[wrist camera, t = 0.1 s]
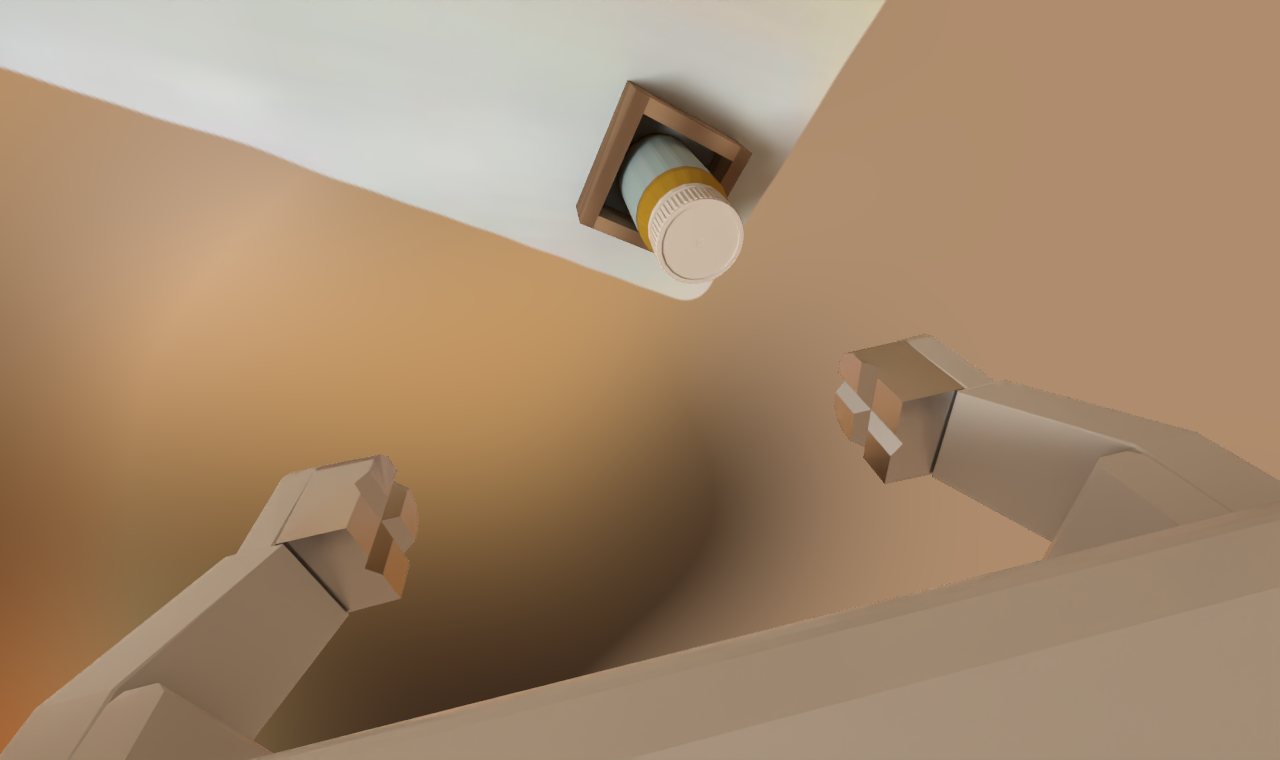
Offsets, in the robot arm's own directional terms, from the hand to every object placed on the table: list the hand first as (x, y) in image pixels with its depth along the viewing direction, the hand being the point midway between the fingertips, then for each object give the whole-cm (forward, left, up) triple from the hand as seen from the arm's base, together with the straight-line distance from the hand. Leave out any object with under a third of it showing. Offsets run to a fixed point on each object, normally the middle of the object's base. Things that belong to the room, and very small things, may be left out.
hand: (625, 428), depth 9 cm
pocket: (+9, +8, -39) cm, 41 cm away
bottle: (+9, +8, -39) cm, 41 cm away
